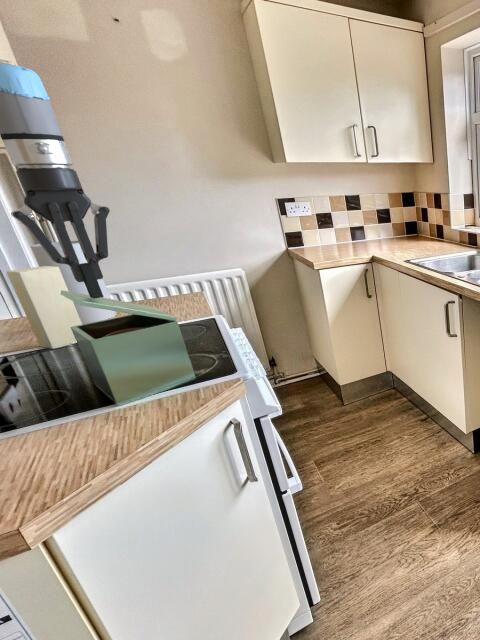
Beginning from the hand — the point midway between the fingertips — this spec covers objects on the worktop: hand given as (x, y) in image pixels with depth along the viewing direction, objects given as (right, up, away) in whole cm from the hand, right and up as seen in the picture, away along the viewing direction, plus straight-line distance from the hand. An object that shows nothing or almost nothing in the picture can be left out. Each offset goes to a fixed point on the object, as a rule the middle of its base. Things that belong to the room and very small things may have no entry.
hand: (96, 296), depth 83 cm
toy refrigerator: (-44, -9, +35) cm, 57 cm away
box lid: (+2, -2, +3) cm, 4 cm away
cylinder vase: (-54, -2, +54) cm, 76 cm away
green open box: (+2, -18, +9) cm, 20 cm away
